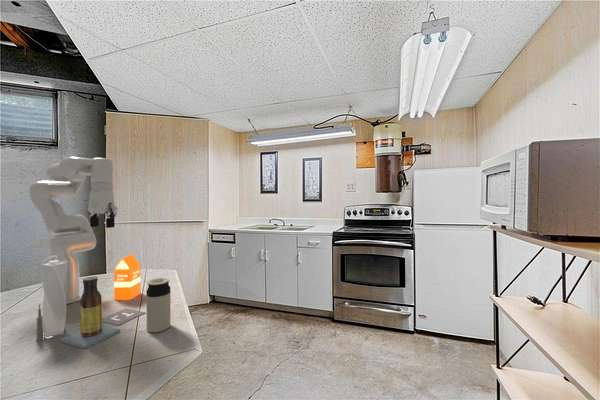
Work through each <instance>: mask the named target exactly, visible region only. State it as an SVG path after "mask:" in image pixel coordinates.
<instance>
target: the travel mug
mask: <svg viewBox="0 0 600 400" xmlns="http://www.w3.org/2000/svg"><path fill="white" fill-rule="evenodd" d="M169 282H170V278H168V277H155V278H152V279H150V280H148V281H147V282H146V284H147V286H148V287H147V289H146V331H147V332H149V333H152V332H153V333H154V334H155V332H156V333H160V332H161V333H162V332H163V331H165V330H168V329H169V328H170V327H171V286H170V285H169Z"/></svg>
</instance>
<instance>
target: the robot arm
mask: <svg viewBox="0 0 600 400" xmlns="http://www.w3.org/2000/svg"><path fill="white" fill-rule="evenodd" d="M113 163H114V162H113V160H112V159H110V158H105V157H94V158H87V157H80V156H79V157H77V156H70V157H64V158H62V159H60V161H59V162H58V163H54V164H53V163H52V164H51V165H49V166H48V167H47V169H46V175H47V177H48V178H49V179H50V180H41V181H35V182H33V183H32V184H31V185H29V191H28V192H29V197H30V200H31V203H32V204H33V205H34V206H35V208H36V209H37V210H38V211H39V213H40V215H41V218H42V220H43V223H44V225H45V227H46V230H47V232H48V233H49V234H51V235H52V237H51V239H50V240H49V244H48V245H49V249H50V253H51V256H53V255H57V260H59V262H61V261H66V260H67V261H68V265H67V273H66V279H65V284H64V292H65V297H66V305H68V304H72V303H76V302H78V301H79V302H80V300H81V297H82V295H83V293H80V262H79V259H78V258H77V256H76V255H74V254H77V253H79V252H80V253H81V252H87V251H90V250H94V249H95V248H96V245H97V238H96V235H95V233H94V230H93V228H94V227H95V228H97V227H99V226H100V217H99V215H105V217H106V218H105V227H106V229H110V228H115V227H116V226H115V223H116V222H115V218H116V216H117V213H118V210H119V208H118V207H117V205H115V197H114V195H115V194H114V192H113V191H114V181H113V180H114V179H113V178H114V177H113V174H114V170H113V169H114V166H113V165H114V164H113ZM87 176H88V177H89V176H90V190H89V197H88V206H87V208H86V209H87V211H88V213H87V214H88V215H89V219H90V220H88V218H87V217H86V216H85V215H83V214H68V213H66V212H65V210H64V207H63V206H62V205H61V204H60V203H59V202H57V201H55V200H53V199H71V198H75V197H76V196H77V195H78V194H79V192H80V189H81V188H82V186H83V184H84V182H85V181H86V178H87ZM53 235H55V236H53ZM55 258H56V257H51V261H54V260H55Z"/></svg>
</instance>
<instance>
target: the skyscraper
mask: <svg viewBox="0 0 600 400" xmlns="http://www.w3.org/2000/svg"><path fill="white" fill-rule="evenodd" d="M52 257H56V258H55V260H54V261H52V260H50V261H48V263H44V262H46V261H47V260H48V259H52ZM67 265H68V261H67V260H66V261H61V262H59V260H57V255H53V256H52V255H50V256H47V257H46V258H44V259H43V260H42V262H41V263H40V275H41V283H42V288H43V299H42V302H43V303H42V308H41V304H40V303H39V304H38V309H37V317H36V340H35V342H36V343H37V342H38V341H39V342H43V341H46V339H47V338H45V337H49V336H53V338H52V339H54V337H56V338H60V337H64V334H65V333H64V332H65V330H66V320H67V319H66V318H67V304H66V297H65V292H64V284H65V279H66V273H67ZM43 333H44V335H43ZM43 336H44V337H43ZM59 336H60V337H59ZM43 338H44V339H43ZM42 340H43V341H42ZM47 340H48V339H47Z"/></svg>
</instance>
